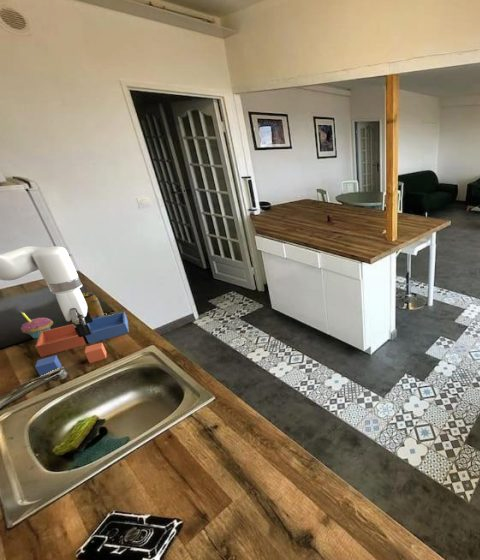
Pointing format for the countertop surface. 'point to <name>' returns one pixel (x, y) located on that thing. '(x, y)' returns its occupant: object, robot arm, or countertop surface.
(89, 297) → the condiment
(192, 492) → the countertop surface
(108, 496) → the countertop surface
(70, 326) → the terracotta bin
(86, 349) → the terracotta block
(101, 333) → the blue bin
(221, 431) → the countertop surface
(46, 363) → the blue block
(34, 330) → the cupcake
